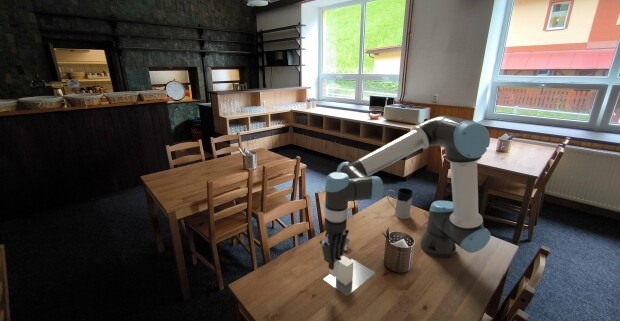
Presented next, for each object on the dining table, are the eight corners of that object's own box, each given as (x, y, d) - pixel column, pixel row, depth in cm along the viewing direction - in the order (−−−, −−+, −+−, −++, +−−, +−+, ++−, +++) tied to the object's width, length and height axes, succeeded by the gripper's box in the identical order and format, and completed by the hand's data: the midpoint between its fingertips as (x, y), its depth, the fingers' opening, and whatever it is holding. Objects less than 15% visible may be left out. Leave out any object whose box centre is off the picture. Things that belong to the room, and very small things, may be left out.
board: (351, 261, 124) (351, 258, 124) (375, 275, 116) (375, 272, 115) (323, 281, 112) (323, 279, 112) (347, 298, 104) (347, 296, 103)
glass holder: (408, 220, 157) (411, 195, 152) (383, 213, 164) (385, 189, 159) (411, 213, 164) (415, 189, 159) (387, 207, 171) (389, 184, 166)
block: (342, 274, 114) (343, 255, 111) (352, 281, 111) (353, 261, 108) (335, 279, 112) (336, 260, 109) (345, 286, 108) (347, 266, 105)
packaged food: (346, 254, 128) (346, 245, 127) (320, 249, 132) (321, 240, 130) (349, 244, 136) (350, 235, 135) (325, 239, 140) (326, 230, 138)
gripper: (339, 207, 104) (337, 261, 111) (314, 220, 95) (313, 277, 103) (356, 214, 99) (352, 271, 106) (331, 229, 90) (328, 289, 98)
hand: (333, 274), depth 104 cm, fingers closed
